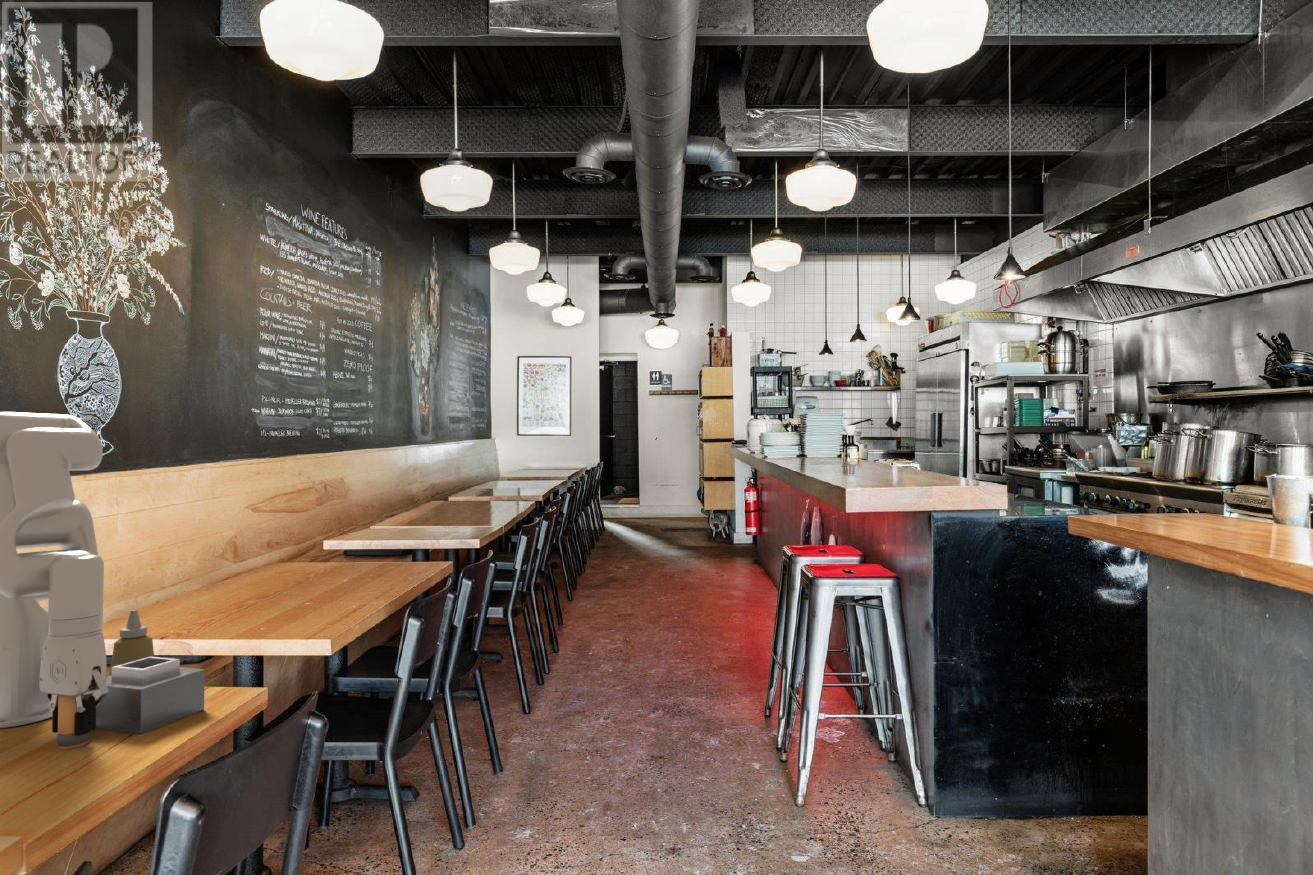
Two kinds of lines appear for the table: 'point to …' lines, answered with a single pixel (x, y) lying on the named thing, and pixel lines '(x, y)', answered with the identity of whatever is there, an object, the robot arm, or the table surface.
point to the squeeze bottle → (132, 642)
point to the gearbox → (149, 695)
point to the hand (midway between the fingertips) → (74, 730)
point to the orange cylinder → (69, 724)
